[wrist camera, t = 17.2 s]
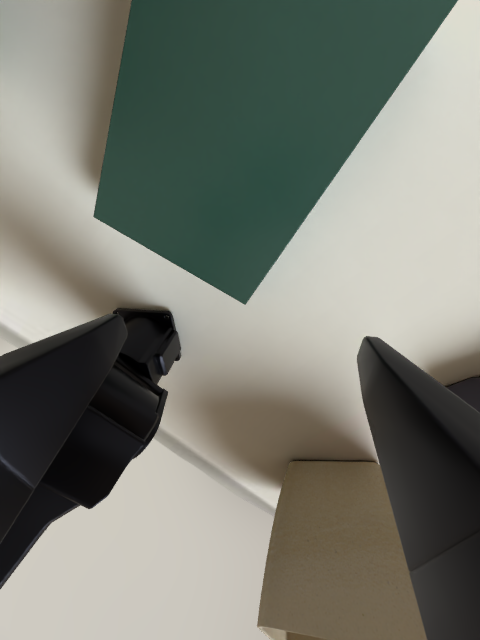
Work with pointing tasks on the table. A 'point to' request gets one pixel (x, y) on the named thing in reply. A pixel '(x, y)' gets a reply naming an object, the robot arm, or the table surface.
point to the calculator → (468, 391)
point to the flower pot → (336, 559)
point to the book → (245, 120)
